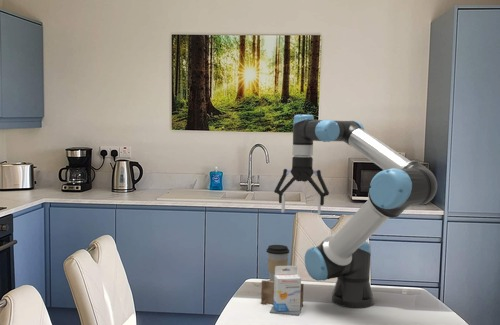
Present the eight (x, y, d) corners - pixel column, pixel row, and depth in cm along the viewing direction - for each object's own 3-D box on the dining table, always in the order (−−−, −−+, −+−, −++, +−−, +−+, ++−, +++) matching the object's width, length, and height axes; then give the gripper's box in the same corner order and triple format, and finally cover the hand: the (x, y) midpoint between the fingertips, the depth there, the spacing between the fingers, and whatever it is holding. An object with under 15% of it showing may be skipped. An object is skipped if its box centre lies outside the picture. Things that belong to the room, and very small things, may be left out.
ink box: (276, 312, 185) (277, 269, 184) (273, 307, 190) (274, 265, 189) (300, 311, 187) (301, 268, 186) (296, 306, 192) (297, 265, 191)
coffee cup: (286, 287, 216) (287, 250, 215) (263, 285, 218) (264, 248, 217) (290, 280, 225) (290, 245, 224) (267, 279, 227) (268, 243, 226)
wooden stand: (303, 304, 195) (303, 283, 194) (302, 308, 191) (302, 285, 191) (262, 300, 198) (263, 279, 198) (260, 304, 195) (261, 282, 194)
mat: (301, 308, 191) (302, 306, 191) (298, 315, 183) (298, 314, 183) (274, 305, 193) (274, 304, 193) (269, 312, 186) (269, 311, 186)
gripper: (337, 156, 202) (335, 213, 203) (271, 154, 207) (270, 209, 209) (335, 158, 195) (333, 216, 196) (267, 155, 200) (266, 212, 202)
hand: (300, 213), depth 202 cm, fingers open, 13 cm apart
